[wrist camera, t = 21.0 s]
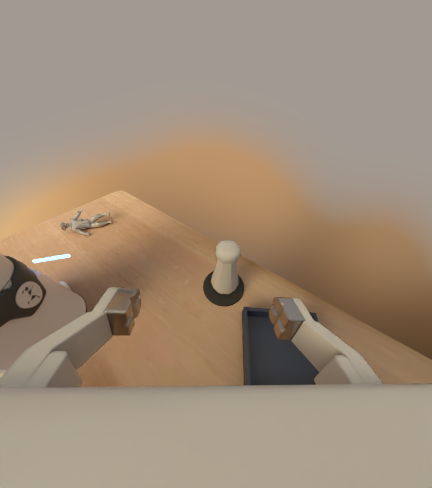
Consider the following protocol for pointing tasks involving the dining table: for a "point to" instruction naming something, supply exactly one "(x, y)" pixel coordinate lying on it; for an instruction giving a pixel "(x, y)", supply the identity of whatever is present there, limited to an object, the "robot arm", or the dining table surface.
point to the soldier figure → (84, 223)
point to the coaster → (222, 298)
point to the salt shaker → (226, 267)
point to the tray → (272, 353)
